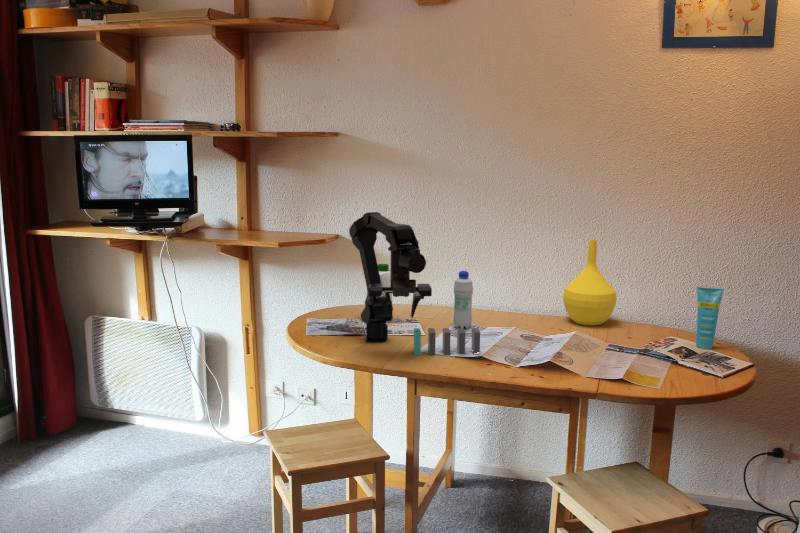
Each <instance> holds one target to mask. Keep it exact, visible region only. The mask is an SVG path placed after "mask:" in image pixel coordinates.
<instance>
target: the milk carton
mask: <svg viewBox="0 0 800 533" xmlns="http://www.w3.org/2000/svg"><path fill="white" fill-rule="evenodd" d="M377 265H378V270H379V275H380V279H381V284H382V287H391V269H389V265H390V264H387V263H377ZM367 294H368V291H367V290H366V295H367ZM389 294H390V299H391V303H392V304H393V293H389ZM392 319H393V320H394V317H393V313H392V317H391V321H393V320H392Z"/></svg>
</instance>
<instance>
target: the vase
mask: <svg viewBox="0 0 800 533" xmlns="http://www.w3.org/2000/svg"><path fill="white" fill-rule="evenodd" d="M597 242H598V240H597V239H595V238H594V239H592V238H591V239H588V246H587V247H588V250H587V260H586V261H587V262H586V265H585V267H584V268H583V270H582V271H581V272H580V273H579V274H578V275H577V276H576V277H575V278H574V279H573V280H571V282H570V283H568V284H567V285H566V286H565V288H564V291H563V295H562V301H563V304H564V308H565V311H566V313H567V315H568V317H570V319H571V320H572V321H573V322H574V323H576V324H578V325H583V326H591V327H592V326H600V325H603V323H605V322H607V320H609V318H610V317H611V316H612V314H613V311H614V309H615V308H616V304H617V292H616V289H615V288H614V287H613V286H612V285H611V284H610V283H609V282H608V280H606V278H605V277H604V275H602V273H601V272H600V271H599V269H598V267H597V248H598V246H597Z"/></svg>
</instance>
